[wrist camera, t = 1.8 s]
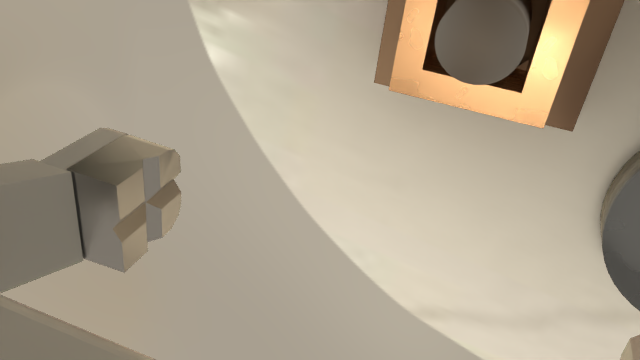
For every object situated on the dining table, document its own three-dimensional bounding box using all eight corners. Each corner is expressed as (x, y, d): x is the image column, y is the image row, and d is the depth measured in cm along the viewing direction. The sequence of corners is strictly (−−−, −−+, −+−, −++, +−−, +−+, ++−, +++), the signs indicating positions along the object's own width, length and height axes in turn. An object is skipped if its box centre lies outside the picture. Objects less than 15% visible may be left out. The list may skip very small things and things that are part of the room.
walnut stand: (656, -102, 23) (697, -89, 16) (571, 116, 28) (575, 197, 21) (421, -136, 25) (369, -136, 18) (384, 71, 31) (332, 130, 24)
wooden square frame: (600, -52, 21) (604, -42, 19) (545, 102, 24) (543, 128, 22) (435, -79, 23) (419, -73, 20) (404, 69, 26) (388, 90, 24)
